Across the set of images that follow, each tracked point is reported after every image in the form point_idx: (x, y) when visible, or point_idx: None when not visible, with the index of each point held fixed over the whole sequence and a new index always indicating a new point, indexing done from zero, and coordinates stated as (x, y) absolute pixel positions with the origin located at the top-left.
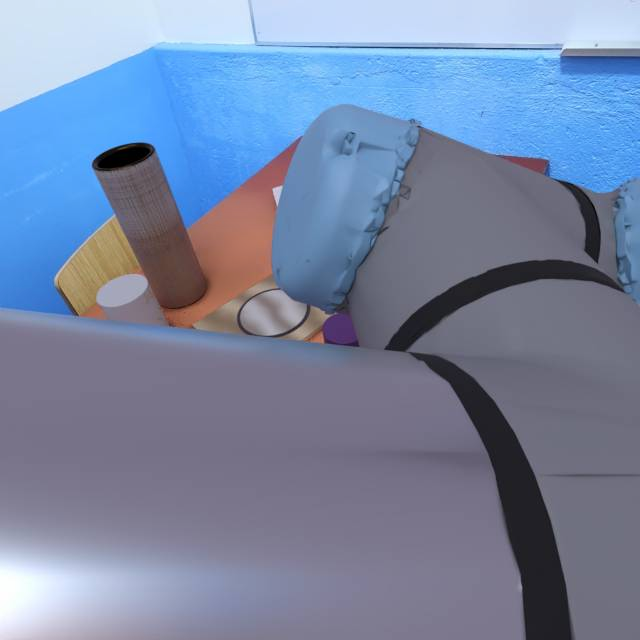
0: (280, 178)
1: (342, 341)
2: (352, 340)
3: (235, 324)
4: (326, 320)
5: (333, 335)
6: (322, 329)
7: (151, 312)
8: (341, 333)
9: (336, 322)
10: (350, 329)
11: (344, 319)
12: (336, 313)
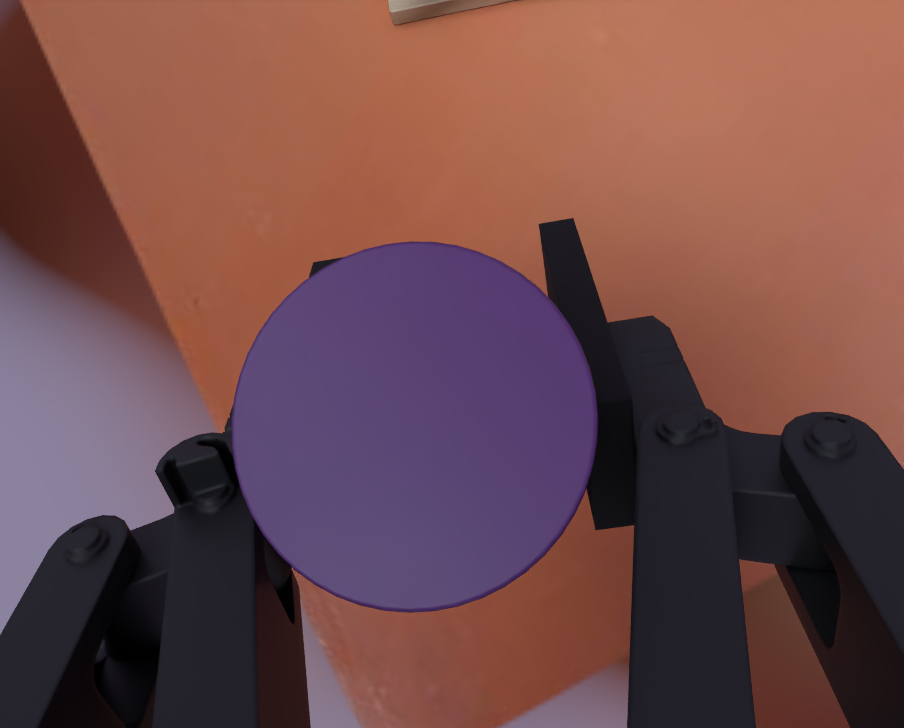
0: None
1: (295, 540)
2: (358, 588)
3: None
4: (343, 265)
5: (284, 439)
6: (263, 327)
7: None
8: (344, 461)
9: (390, 332)
10: (422, 474)
11: (456, 347)
12: (451, 248)
